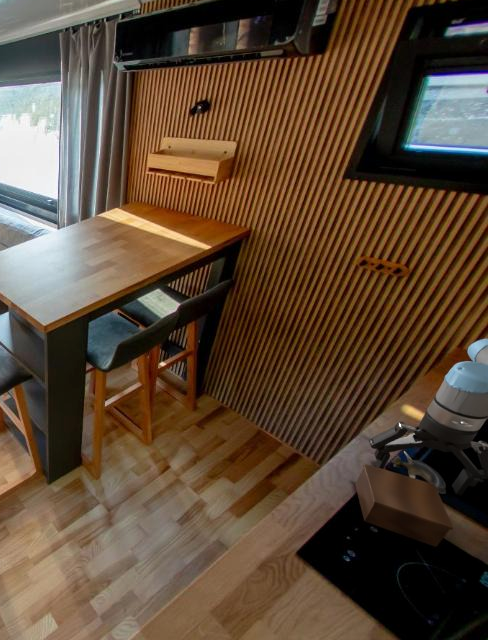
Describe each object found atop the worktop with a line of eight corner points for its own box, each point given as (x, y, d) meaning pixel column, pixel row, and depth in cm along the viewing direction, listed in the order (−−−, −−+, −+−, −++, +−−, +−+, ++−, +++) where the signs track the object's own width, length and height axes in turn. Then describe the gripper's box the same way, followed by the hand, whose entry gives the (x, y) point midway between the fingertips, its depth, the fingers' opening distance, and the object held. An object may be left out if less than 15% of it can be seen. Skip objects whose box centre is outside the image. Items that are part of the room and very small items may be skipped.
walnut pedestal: (421, 504, 88) (434, 484, 85) (438, 548, 80) (453, 528, 77) (353, 483, 95) (363, 463, 91) (363, 521, 87) (374, 501, 84)
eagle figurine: (385, 474, 94) (442, 497, 86) (393, 448, 94) (450, 469, 86) (393, 473, 98) (448, 494, 90) (400, 448, 98) (456, 468, 90)
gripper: (377, 412, 89) (350, 468, 98) (554, 454, 74) (502, 515, 83) (370, 393, 94) (345, 448, 103) (534, 428, 79) (487, 488, 89)
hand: (415, 478), depth 93 cm, fingers open, 12 cm apart
